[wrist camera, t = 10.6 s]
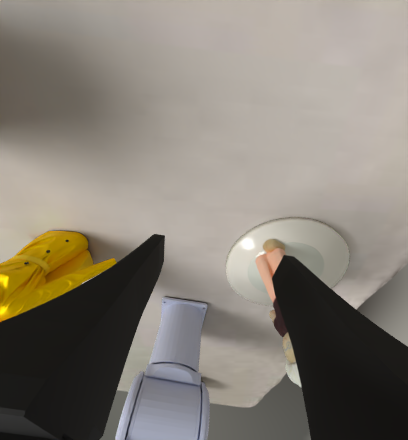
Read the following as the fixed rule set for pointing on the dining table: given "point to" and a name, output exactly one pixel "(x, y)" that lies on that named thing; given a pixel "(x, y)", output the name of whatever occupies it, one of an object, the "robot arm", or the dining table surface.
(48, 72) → the dining table surface
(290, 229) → the dish
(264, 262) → the grandmother figurine
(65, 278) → the yellow irregular piece
